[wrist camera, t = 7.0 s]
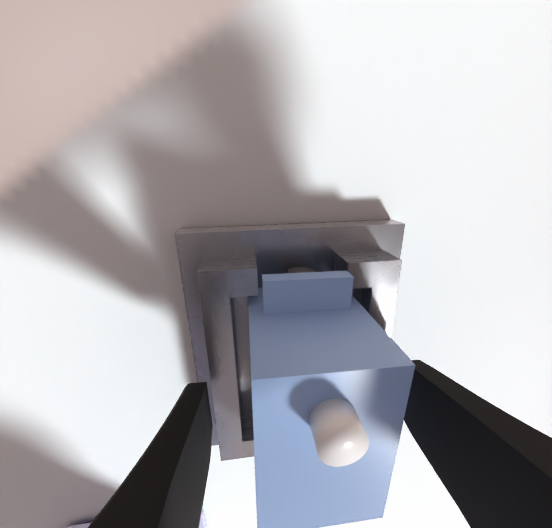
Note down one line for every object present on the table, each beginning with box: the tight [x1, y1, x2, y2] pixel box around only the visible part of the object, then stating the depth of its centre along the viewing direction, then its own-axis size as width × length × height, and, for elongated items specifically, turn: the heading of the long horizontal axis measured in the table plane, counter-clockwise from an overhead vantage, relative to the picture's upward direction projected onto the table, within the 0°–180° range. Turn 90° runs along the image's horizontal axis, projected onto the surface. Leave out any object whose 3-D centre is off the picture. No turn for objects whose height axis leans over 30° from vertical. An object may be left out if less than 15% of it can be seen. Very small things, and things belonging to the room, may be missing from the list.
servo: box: [248, 267, 415, 528], centre depth 9 cm, size 8×4×6 cm, turn 0°
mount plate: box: [175, 220, 405, 461], centre depth 12 cm, size 11×9×2 cm
